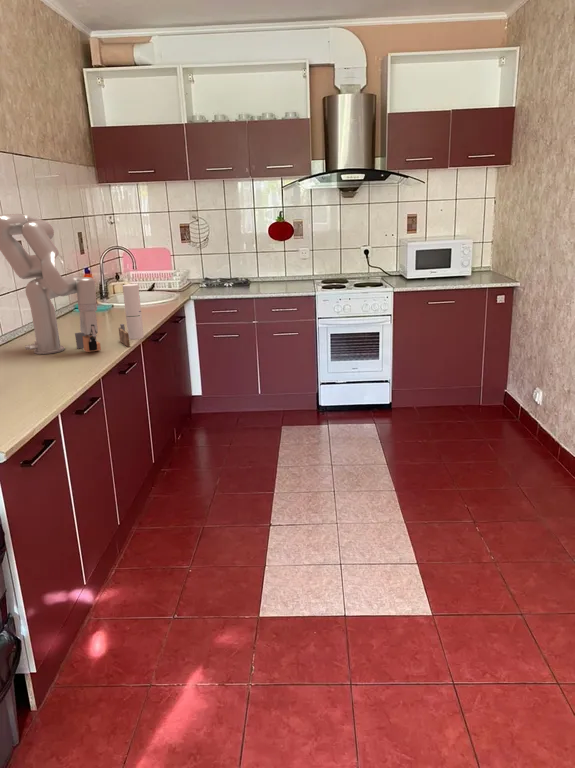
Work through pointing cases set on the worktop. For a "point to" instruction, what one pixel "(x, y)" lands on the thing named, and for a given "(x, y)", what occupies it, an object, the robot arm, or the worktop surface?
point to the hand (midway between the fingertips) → (91, 348)
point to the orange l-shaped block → (86, 344)
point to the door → (124, 337)
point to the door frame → (80, 335)
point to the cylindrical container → (133, 311)
